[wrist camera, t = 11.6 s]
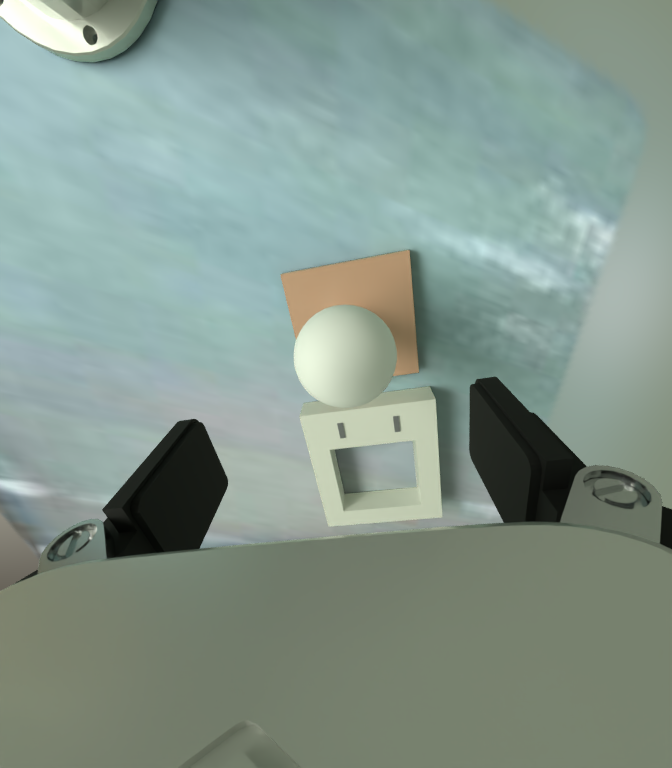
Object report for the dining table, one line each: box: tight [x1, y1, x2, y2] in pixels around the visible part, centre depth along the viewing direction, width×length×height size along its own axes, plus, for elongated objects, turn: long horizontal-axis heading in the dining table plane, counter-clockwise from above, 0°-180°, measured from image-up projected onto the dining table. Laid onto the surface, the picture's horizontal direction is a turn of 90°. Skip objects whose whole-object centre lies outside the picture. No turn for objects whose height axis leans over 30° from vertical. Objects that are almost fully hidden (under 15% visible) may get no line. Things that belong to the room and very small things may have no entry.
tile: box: [281, 250, 419, 376], centre depth 27 cm, size 10×10×1 cm
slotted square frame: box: [300, 386, 442, 526], centre depth 32 cm, size 14×12×3 cm
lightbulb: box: [294, 305, 397, 408], centre depth 21 cm, size 6×6×11 cm
